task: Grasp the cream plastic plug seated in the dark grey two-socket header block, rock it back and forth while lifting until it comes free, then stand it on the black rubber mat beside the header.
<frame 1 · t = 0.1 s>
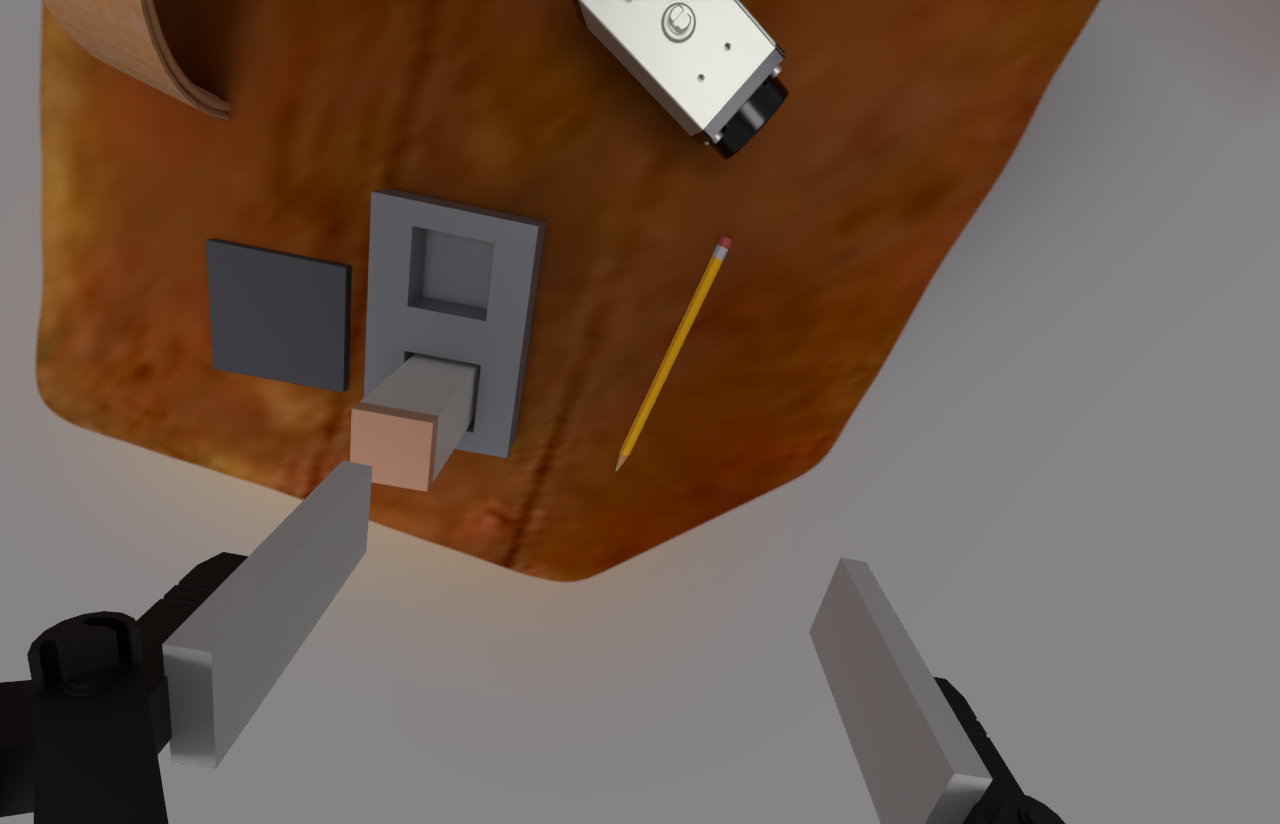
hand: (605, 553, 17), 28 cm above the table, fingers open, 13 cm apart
pneumatic valve: (671, 56, 37), on the table
mat: (283, 317, 43), on the table
plug: (452, 378, 44), resting on header
header: (459, 323, 43), on the table
pencil: (667, 361, 45), on the table
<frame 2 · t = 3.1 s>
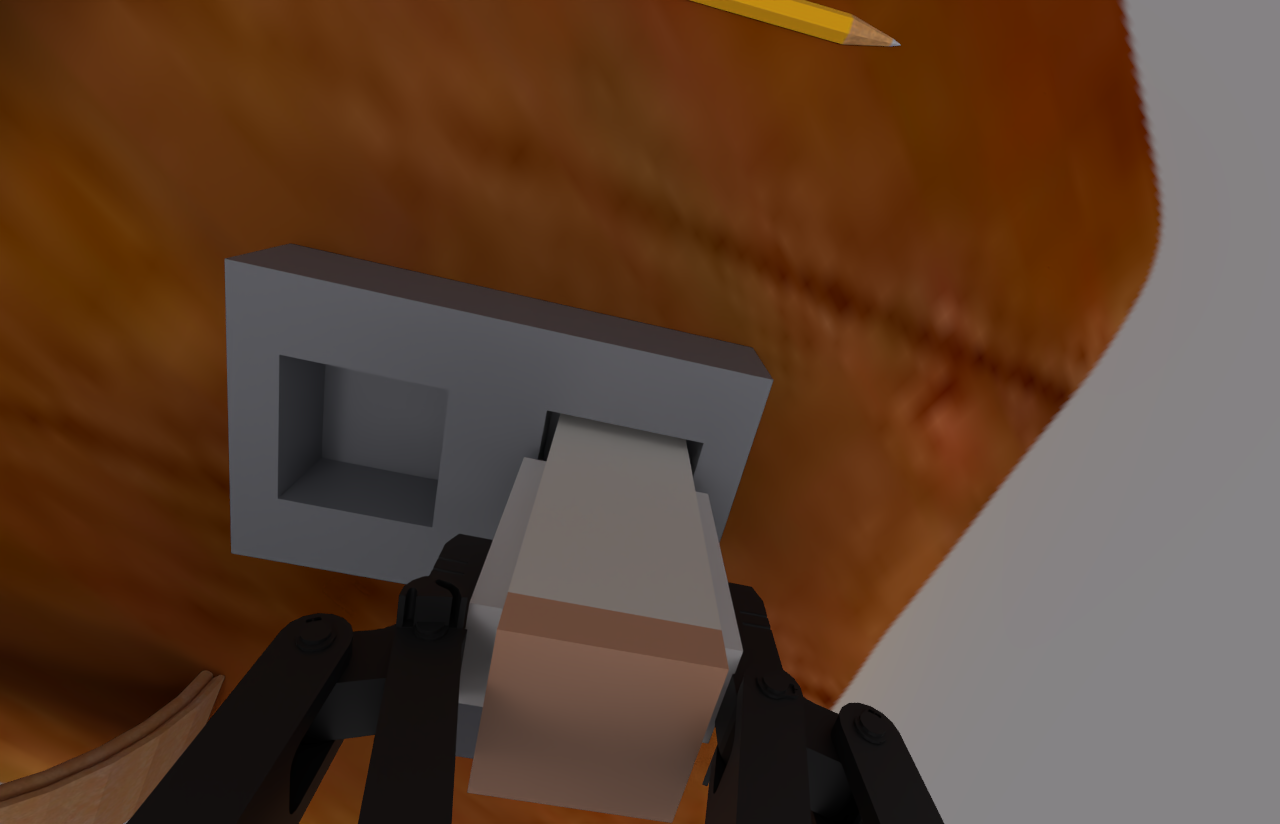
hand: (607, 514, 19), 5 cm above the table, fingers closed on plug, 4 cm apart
mat: (513, 676, 27), on the table
plug: (612, 454, 23), resting on header, touching gripper
header: (508, 427, 23), on the table
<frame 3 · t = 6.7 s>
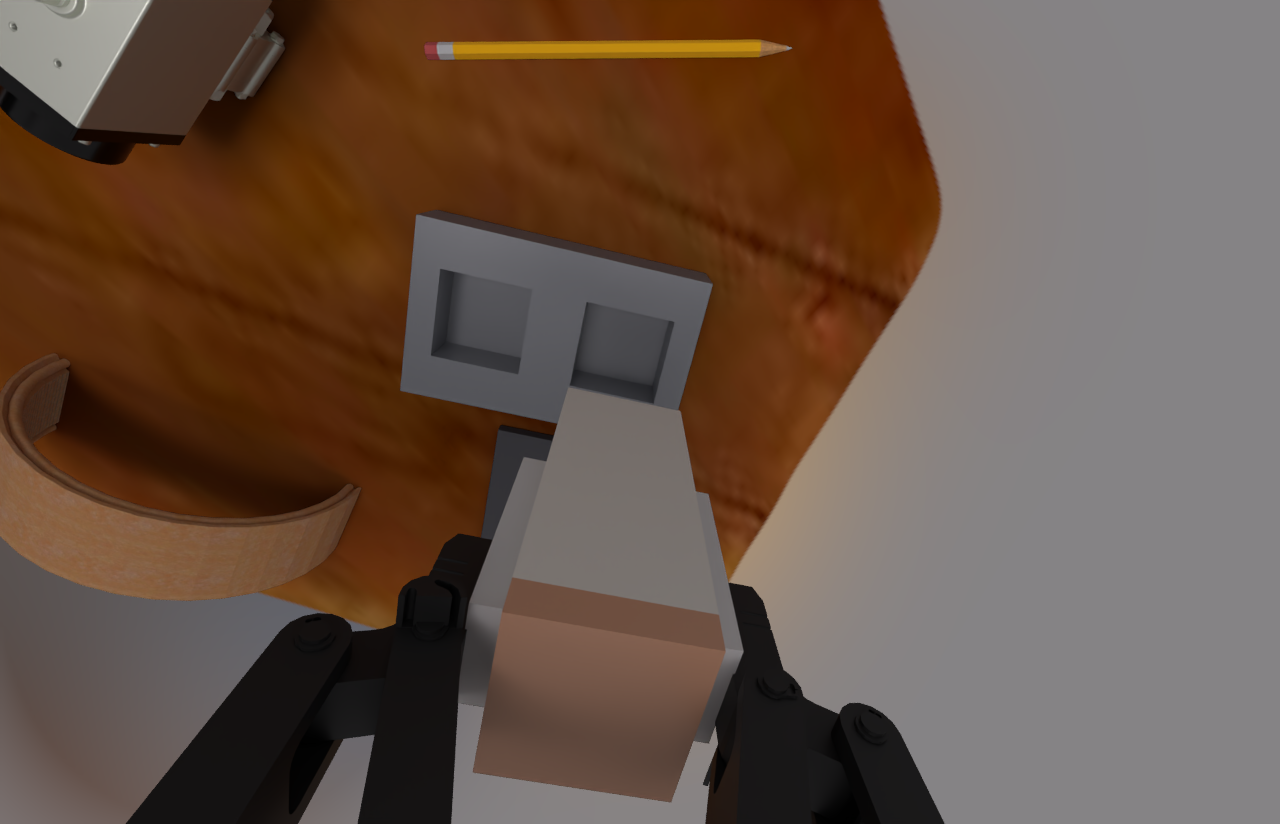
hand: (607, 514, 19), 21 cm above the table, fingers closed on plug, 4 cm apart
pneumatic valve: (239, 42, 32), on the table
arch: (207, 455, 41), on the table
mat: (556, 496, 42), on the table
plug: (612, 449, 23), point 16 cm above the table, touching gripper
header: (558, 324, 38), on the table
pencil: (610, 52, 33), on the table
when the fingers open (6 cm above the table, at t = 10.4 s): plug stays where it is, resting on mat.
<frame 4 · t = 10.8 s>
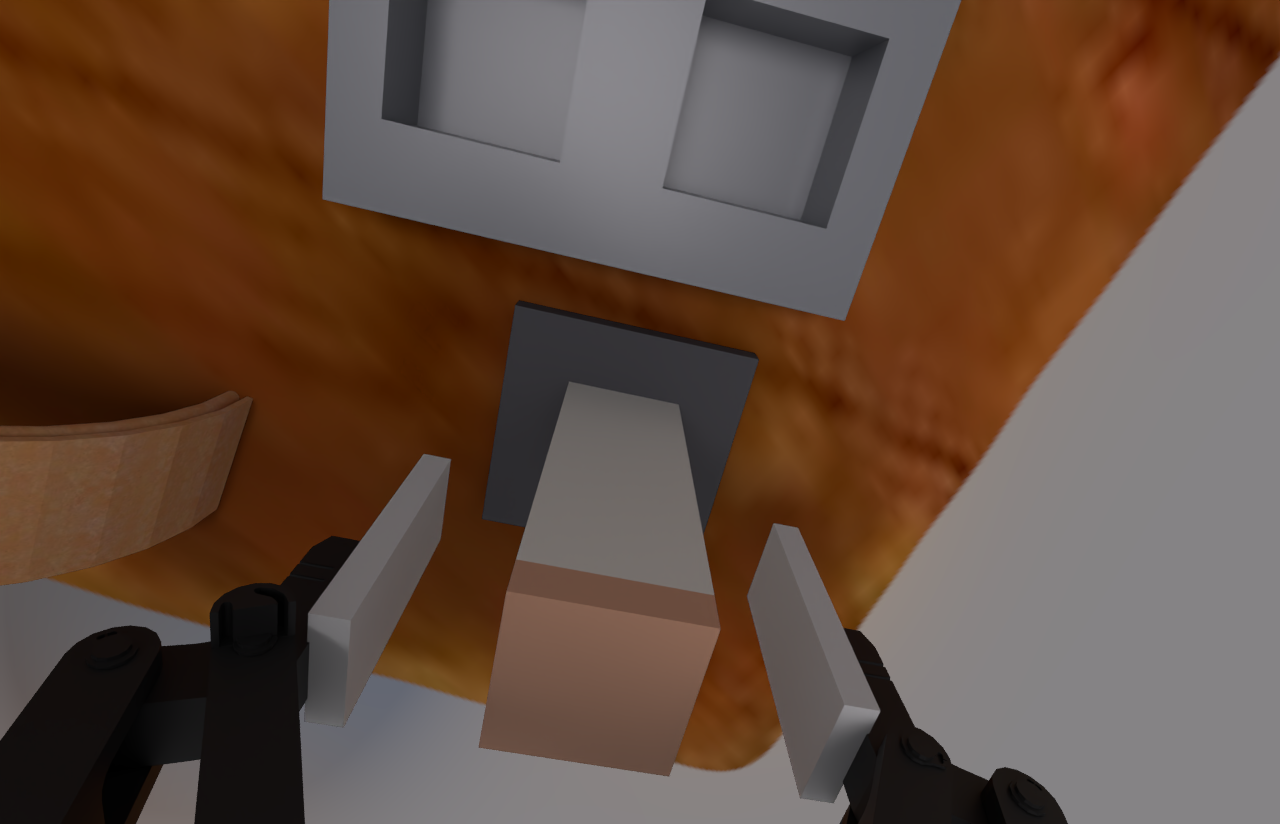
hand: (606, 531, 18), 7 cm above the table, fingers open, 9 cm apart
mat: (613, 434, 24), on the table
plug: (612, 442, 24), point 1 cm above the table, touching mat
header: (631, 93, 20), on the table
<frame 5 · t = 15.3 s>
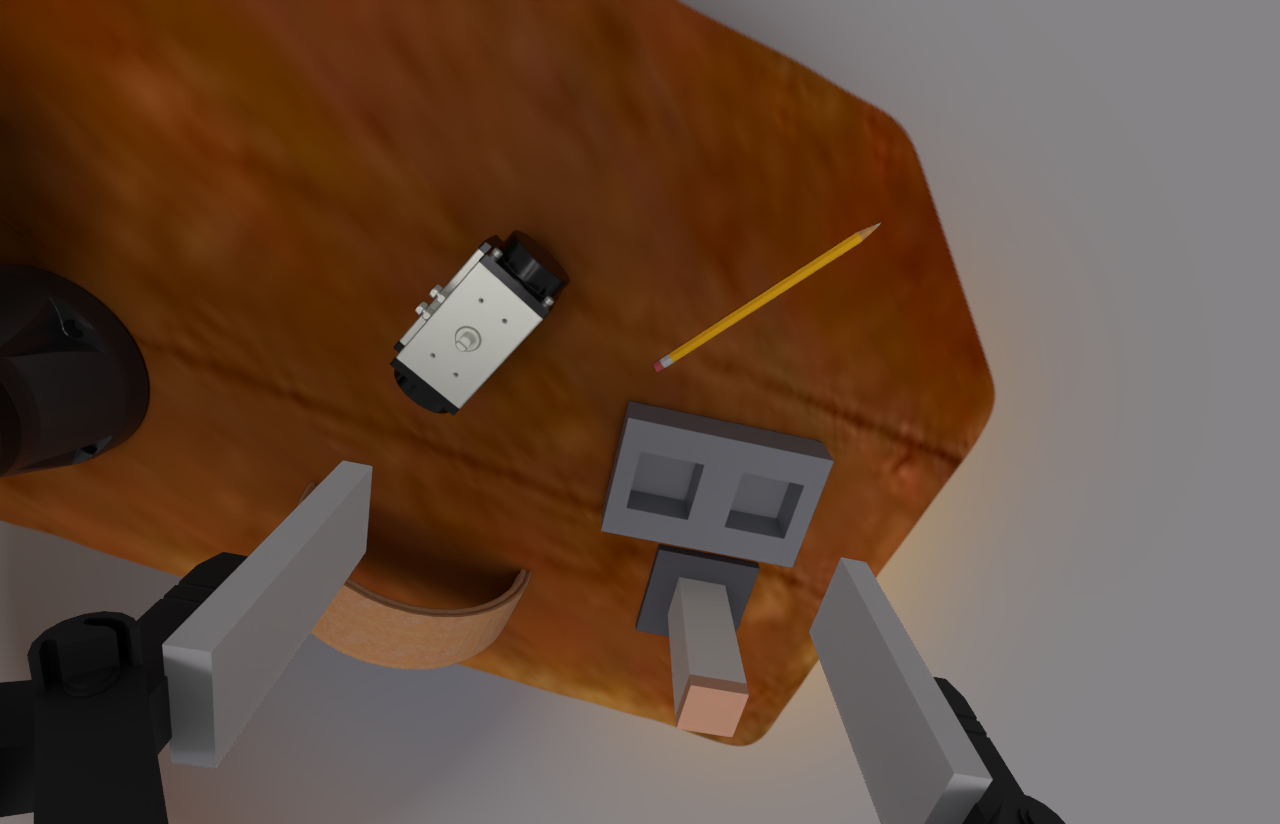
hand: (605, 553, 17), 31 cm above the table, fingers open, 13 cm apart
pneumatic valve: (501, 294, 45), on the table
arch: (416, 550, 54), on the table
mat: (695, 594, 55), on the table
plug: (696, 600, 54), point 1 cm above the table, touching mat
header: (709, 475, 51), on the table
pencil: (761, 297, 46), on the table
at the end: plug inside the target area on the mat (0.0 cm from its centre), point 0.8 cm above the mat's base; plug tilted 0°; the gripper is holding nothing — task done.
